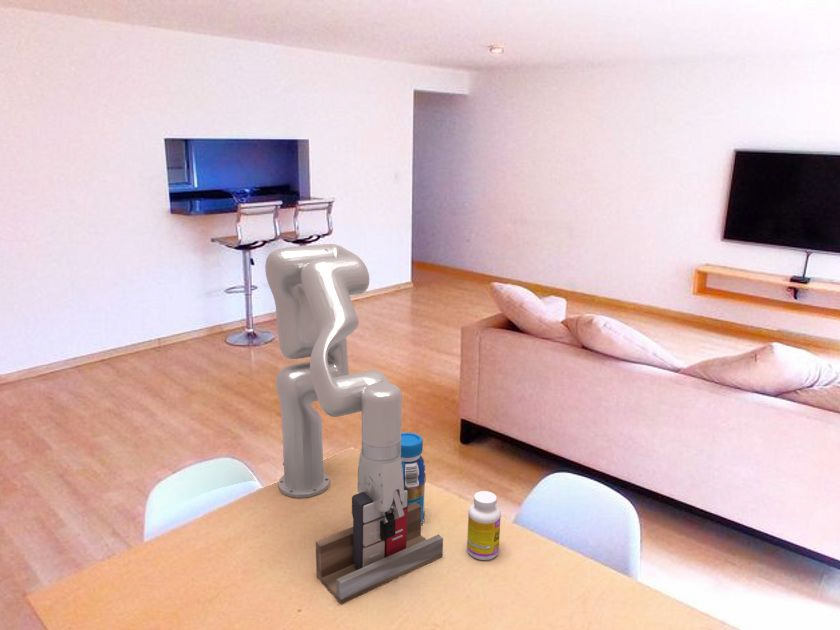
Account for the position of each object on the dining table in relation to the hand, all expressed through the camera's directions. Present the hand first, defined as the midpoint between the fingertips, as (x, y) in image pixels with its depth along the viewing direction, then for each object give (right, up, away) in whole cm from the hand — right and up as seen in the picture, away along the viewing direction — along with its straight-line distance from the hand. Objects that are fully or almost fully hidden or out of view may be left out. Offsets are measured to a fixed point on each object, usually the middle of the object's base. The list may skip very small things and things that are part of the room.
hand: (381, 531), depth 125 cm
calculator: (0, -6, +2) cm, 7 cm away
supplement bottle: (+21, -7, +7) cm, 23 cm away
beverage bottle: (+5, -4, +19) cm, 20 cm away
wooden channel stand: (0, -8, +2) cm, 8 cm away
